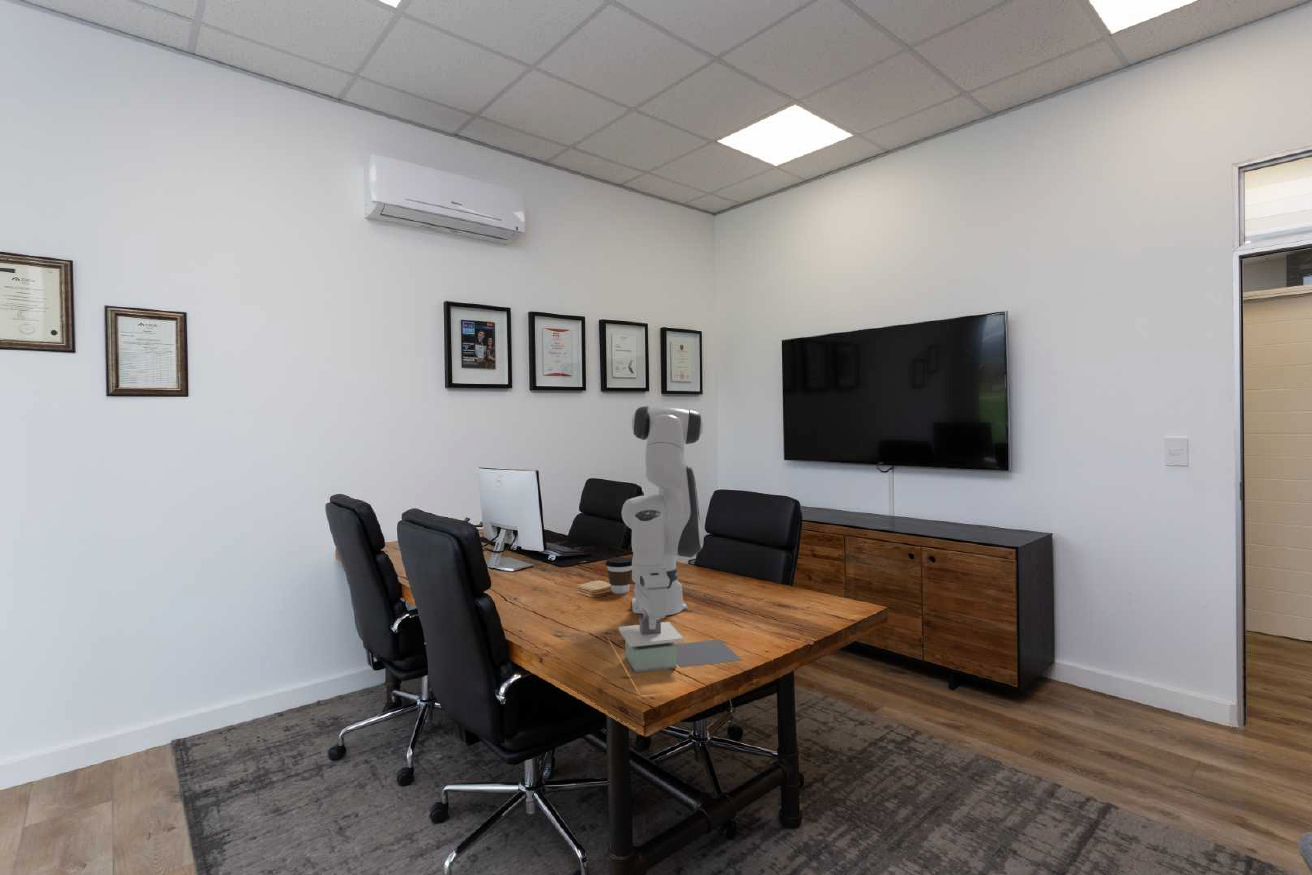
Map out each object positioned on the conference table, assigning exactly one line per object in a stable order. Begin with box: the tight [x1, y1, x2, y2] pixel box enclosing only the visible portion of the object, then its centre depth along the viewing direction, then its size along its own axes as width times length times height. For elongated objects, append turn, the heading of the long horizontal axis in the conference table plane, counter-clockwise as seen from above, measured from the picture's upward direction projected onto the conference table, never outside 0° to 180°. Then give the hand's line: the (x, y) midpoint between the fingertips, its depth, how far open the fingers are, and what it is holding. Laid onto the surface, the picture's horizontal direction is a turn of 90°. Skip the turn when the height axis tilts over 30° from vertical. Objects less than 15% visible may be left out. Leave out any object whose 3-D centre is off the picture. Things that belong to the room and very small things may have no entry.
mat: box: [674, 639, 743, 668], centre depth 177 cm, size 17×17×1 cm
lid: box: [618, 617, 685, 647], centre depth 170 cm, size 14×14×4 cm
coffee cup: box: [604, 556, 633, 595], centre depth 243 cm, size 11×11×12 cm
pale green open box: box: [624, 639, 678, 674], centre depth 170 cm, size 11×11×6 cm
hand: (649, 625), depth 170 cm, fingers closed on lid, 3 cm apart
